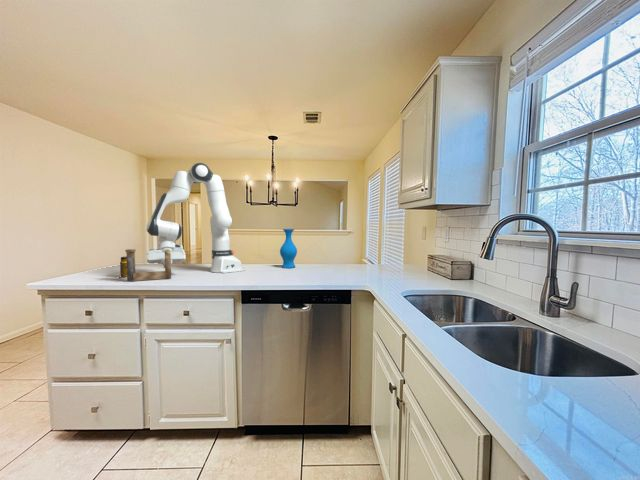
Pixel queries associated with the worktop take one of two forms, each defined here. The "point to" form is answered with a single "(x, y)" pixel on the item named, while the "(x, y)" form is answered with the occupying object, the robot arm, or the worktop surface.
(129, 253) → the gate post
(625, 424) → the worktop surface
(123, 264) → the condiment
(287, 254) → the vase
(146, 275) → the gate
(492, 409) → the worktop surface
